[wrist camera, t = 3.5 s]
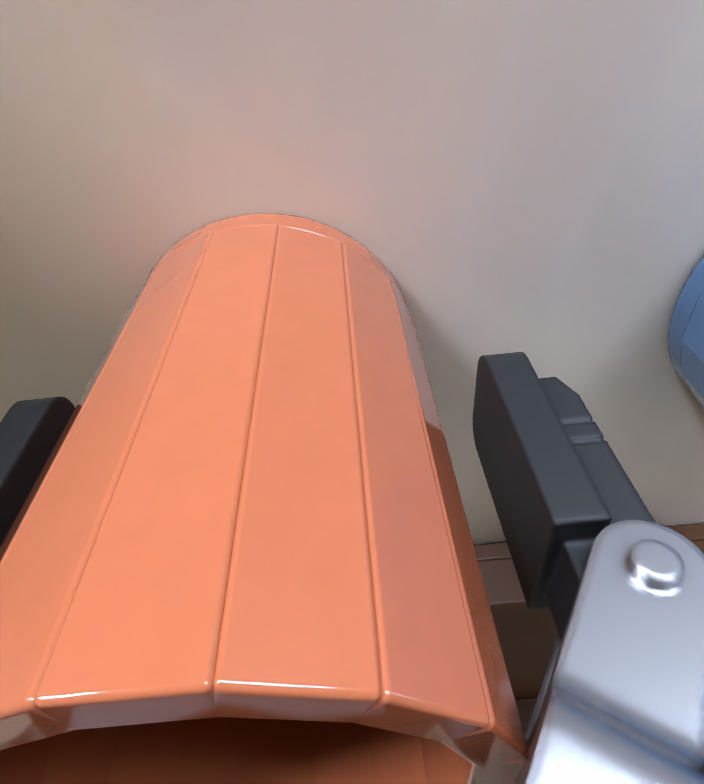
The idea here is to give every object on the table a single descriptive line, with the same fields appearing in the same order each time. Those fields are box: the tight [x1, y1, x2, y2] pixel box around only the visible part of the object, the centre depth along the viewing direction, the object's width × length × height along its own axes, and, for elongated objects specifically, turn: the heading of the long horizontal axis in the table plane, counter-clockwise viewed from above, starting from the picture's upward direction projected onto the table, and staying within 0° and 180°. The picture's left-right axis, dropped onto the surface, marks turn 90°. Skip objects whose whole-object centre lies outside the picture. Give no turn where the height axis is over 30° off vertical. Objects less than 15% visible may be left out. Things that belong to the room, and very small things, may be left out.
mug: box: [0, 214, 528, 784], centre depth 9 cm, size 8×6×8 cm
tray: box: [474, 524, 704, 735], centre depth 21 cm, size 19×14×2 cm
